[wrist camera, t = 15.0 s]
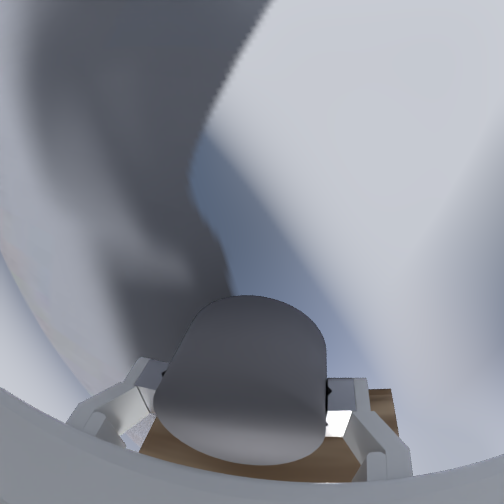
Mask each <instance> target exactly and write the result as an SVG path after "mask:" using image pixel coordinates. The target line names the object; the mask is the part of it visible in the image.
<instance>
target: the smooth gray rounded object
mask: <svg viewBox="0 0 504 504" xmlns="http://www.w3.org/2000/svg"><path fill="white" fill-rule="evenodd" d="M326 367H327V366H326V345H325V341H324V338H323V336H322V334H321V332H320V330H319V329H318V327H317V326H316V325H315V323H314V322H313V321H311V319H310V318H309V317H307V316H306V315H305V314H304V313H302V312H301V311H299V310H297V309H296V308H294V307H293V306H290V305H288V304H286V303H284V302H281V301H278V300H275V299H271V298H267V297H261V296H253V295H252V296H251V295H250V296H247V295H242V296H232V297H228V298H223V299H221V300H218V301H215V302H213V303H211V304H209V305H208V306H206V307H205V308H204V309H202V310H201V311H200V312H199V313H198V314H197V315H196V317H195V318H194V320H193V321H192V323H191V325H190V327H189V329H188V331H187V333H186V335H185V336H184V338H183V340H182V342H181V344H180V346H179V348H178V350H177V351H176V353H175V355H174V357H173V359H172V361H171V363H170V365H169V367H168V368H167V370H166V372H165V374H164V376H163V378H162V380H161V382H160V384H159V386H158V387H157V389H156V391H155V394H154V397H153V407H154V411H155V413H156V415H157V417H158V419H159V421H160V422H161V423H162V424H163V426H164V427H165V428H166V429H167V430H168V431H169V432H170V433H171V434H172V435H174V436H175V437H176V438H177V439H179V440H180V441H182V442H183V443H185V444H186V445H188V446H190V447H192V448H193V449H195V450H197V451H199V452H202V453H204V454H206V455H209V456H212V457H215V458H218V459H221V460H225V461H229V462H233V463H239V464H247V465H278V464H284V463H289V462H293V461H296V460H299V459H302V458H304V457H306V456H308V455H310V454H311V453H313V452H314V451H315V450H317V449H318V448H319V447H320V445H321V444H322V443H323V441H324V438H325V433H326V396H327V394H326V384H327V373H326V372H327V368H326Z"/></svg>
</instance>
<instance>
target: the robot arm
mask: <svg viewBox="0 0 504 504" xmlns="http://www.w3.org/2000/svg"><path fill="white" fill-rule="evenodd" d="M169 365H170V363H169V362H164V361H159V360H154V359H149V358H145V357H140V358H139V359H138V360H137V361H136V363H135V364H134V366H133V368H132V369H131V371H130V372H129V374H128V375H127V377H126V379H125V380H124V382H123V383H122V382H119V383H117V384H115V385H114V386H112V387H110V388H108V389H106V390H104V391H102V392H100V393H98V394H96V395H95V396H93V397H91V398H89V399H87V400H85V401H83V402H81V403H79V404H78V406H77V407H76V408H75V410H74V411H73V413H72V414H71V416H70V417H69V419H68V420H67V422H66V423H63V422H61V421H59V420H57V419H55V418H53V417H51V416H50V415H48V414H46V413H44V412H42V411H40V410H38V409H36V408H35V407H33V406H31V405H29V404H28V403H26V402H24V401H22V400H21V399H19V398H17V397H15V396H14V395H13V394H11V393H9V392H8V391H6V390H5V389H3V388H1V387H0V504H504V454H502V455H499V456H496V457H493V458H490V459H487V460H484V461H481V462H477V463H473V464H470V465H466V466H462V467H458V468H454V469H450V470H445V471H440V472H436V473H430V474H424V475H419V476H413V473H412V465H411V457H410V450H409V448H408V446H407V445H406V444H405V443H404V442H403V441H402V440H401V439H400V438H399V437H398V436H397V435H396V434H395V433H394V432H393V430H392V429H391V428H390V427H389V426H388V425H387V424H386V423H385V422H384V421H383V420H382V419H381V418H380V417H379V415H378V414H377V413H376V412H375V411H371V409H370V400H369V392H368V384H367V380H366V378H327V384H326V394H327V396H326V433H325V437H343V439H344V440H345V442H346V443H347V445H348V446H349V448H350V449H351V451H352V452H353V454H354V455H355V457H356V458H357V460H358V461H359V463H360V464H361V466H360V468H359V470H358V471H357V473H356V474H355V476H354V478H353V479H352V482H345V483H310V482H289V481H276V480H265V479H256V478H248V477H241V476H235V475H228V474H223V473H217V472H212V471H207V470H202V469H197V468H193V467H188V466H184V465H180V464H176V463H172V462H168V461H165V460H161V459H158V458H154V457H151V456H148V455H144V454H141V453H138V452H135V451H132V450H129V449H126V445H125V443H124V442H123V440H122V439H121V438H120V436H121V435H122V434H123V433H125V432H126V431H128V430H129V429H130V428H132V427H133V426H134V425H136V424H137V423H138V422H140V421H141V420H142V419H144V418H145V417H146V416H148V415H149V414H150V413H152V414H156V413H155V411H154V407H153V397H154V394H155V391H156V389H157V387H158V386H159V384H160V382H161V380H162V378H163V376H164V374H165V372H166V370H167V368H168V367H169Z"/></svg>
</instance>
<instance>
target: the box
mask: <svg viewBox="0 0 504 504" xmlns="http://www.w3.org/2000/svg"><path fill="white" fill-rule="evenodd" d="M368 392H369V400H370V409H371V411H375V412H376V413H377V414H378V415H379V417H380V418H381V419H382V420H383V421H384V422H385V423H386V424H387V425H388V426H389V427H390V428H391V429H392V430H393V432H394V433H395V434H396V435H397V436H398V437H399V433H398V427H397V421H396V415H395V409H394V404H393V398H392V393H391V389H371V390H370V389H368ZM139 453H141V454H144V455H148V456H151V457H154V458H158V459H161V460H165V461H168V462H172V463H176V464H180V465H184V466H188V467H193V468H197V469H202V470H207V471H212V472H217V473H223V474H228V475H235V476H241V477H248V478H256V479H265V480H276V481H289V482H310V483H345V482H352V479H353V478H354V476H355V474H356V473H357V471H358V470H359V468H360V466H361V464H360V463H359V461H358V460H357V458H356V457H355V455H354V454H353V452H352V451H351V449H350V448H349V446H348V445H347V443H346V442H345V440H344V439H343V437H325V438H324V441H323V443H322V444H321V445H320V447H319V448H318V449H317V450H315V451H314V452H313V453H311V454H310V455H308V456H306V457H304V458H302V459H299V460H296V461H293V462H289V463H284V464H278V465H247V464H239V463H233V462H229V461H225V460H221V459H218V458H215V457H212V456H209V455H206V454H204V453H202V452H199V451H197V450H195V449H193V448H192V447H190V446H188V445H186V444H185V443H183V442H182V441H180V440H179V439H177V438H176V437H175V436H174V435H172V434H171V433H170V432H169V431H168V430H167V429H166V428H165V427H164V426H163V424H162V423H161V422H160V421H159V419H158V417H156V419H155V421H154V423H153V425H152V427H151V429H150V431H149V433H148V435H147V437H146V439H145V441H144V443H143V445H142V447H141V449H140V451H139Z"/></svg>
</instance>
